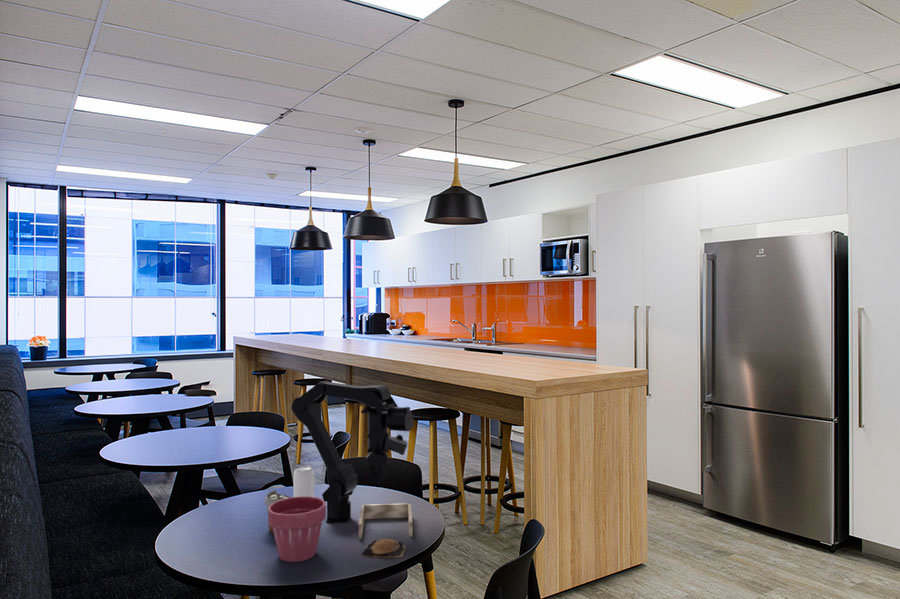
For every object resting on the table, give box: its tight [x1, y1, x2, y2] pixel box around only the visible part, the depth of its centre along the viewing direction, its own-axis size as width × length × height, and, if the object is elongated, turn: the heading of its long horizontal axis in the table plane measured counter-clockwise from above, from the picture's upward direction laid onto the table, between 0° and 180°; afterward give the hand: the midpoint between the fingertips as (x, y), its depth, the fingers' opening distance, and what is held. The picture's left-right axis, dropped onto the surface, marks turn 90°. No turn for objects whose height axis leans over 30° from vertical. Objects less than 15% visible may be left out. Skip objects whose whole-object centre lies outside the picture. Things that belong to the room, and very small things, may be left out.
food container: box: [264, 489, 291, 535], centre depth 172 cm, size 12×6×10 cm, turn 48°
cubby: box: [358, 502, 413, 540], centre depth 175 cm, size 15×17×4 cm
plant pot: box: [267, 496, 327, 563], centre depth 156 cm, size 14×14×13 cm
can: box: [293, 465, 315, 497], centre depth 195 cm, size 6×6×12 cm
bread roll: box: [362, 538, 407, 559], centre depth 158 cm, size 11×8×4 cm
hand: (378, 482), depth 178 cm, fingers closed
